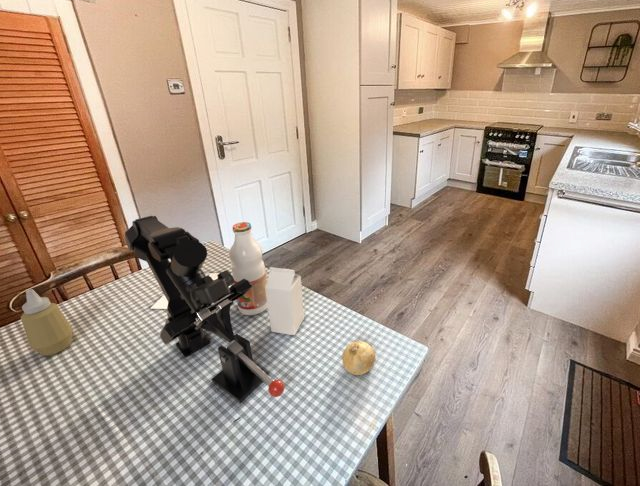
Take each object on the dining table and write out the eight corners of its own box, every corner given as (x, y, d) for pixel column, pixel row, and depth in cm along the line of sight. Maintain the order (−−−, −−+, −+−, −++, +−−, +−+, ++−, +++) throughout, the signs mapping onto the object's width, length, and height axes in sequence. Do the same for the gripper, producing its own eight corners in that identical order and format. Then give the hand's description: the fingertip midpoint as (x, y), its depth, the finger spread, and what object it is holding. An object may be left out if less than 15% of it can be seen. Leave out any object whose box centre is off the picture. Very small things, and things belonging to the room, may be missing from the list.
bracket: (268, 376, 72) (263, 341, 68) (240, 404, 65) (232, 367, 61) (241, 358, 77) (234, 324, 73) (212, 382, 70) (203, 347, 66)
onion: (354, 348, 80) (353, 327, 77) (380, 361, 76) (381, 340, 73) (336, 371, 73) (335, 349, 71) (364, 386, 70) (364, 363, 67)
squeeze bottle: (83, 341, 81) (59, 285, 75) (44, 364, 75) (13, 305, 68) (68, 332, 85) (43, 277, 78) (28, 353, 78) (-3, 295, 71)
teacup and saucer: (212, 293, 101) (210, 283, 99) (188, 293, 101) (186, 283, 99) (224, 278, 109) (222, 268, 108) (202, 278, 109) (200, 268, 108)
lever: (286, 391, 65) (288, 382, 63) (275, 403, 62) (277, 395, 60) (236, 346, 70) (237, 337, 69) (224, 356, 68) (224, 347, 66)
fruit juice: (271, 311, 93) (260, 229, 83) (239, 319, 90) (223, 234, 79) (268, 293, 101) (257, 216, 91) (237, 300, 98) (223, 221, 87)
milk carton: (294, 336, 84) (288, 277, 77) (271, 332, 85) (263, 274, 78) (304, 318, 90) (299, 263, 83) (282, 315, 92) (276, 260, 85)
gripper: (152, 290, 53) (201, 364, 52) (241, 247, 68) (281, 303, 67) (141, 311, 60) (185, 376, 59) (225, 267, 75) (261, 319, 74)
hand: (232, 341), depth 64 cm, fingers closed
